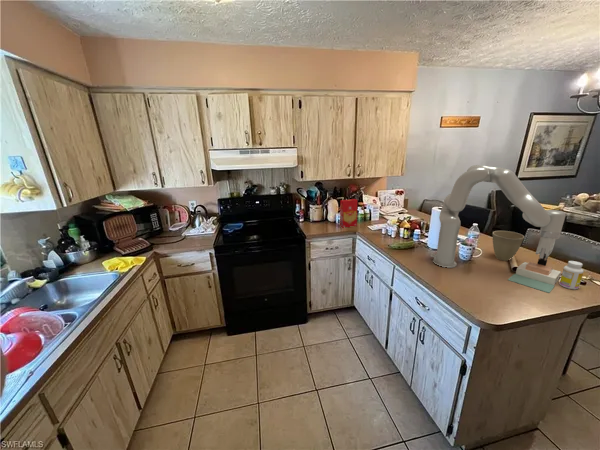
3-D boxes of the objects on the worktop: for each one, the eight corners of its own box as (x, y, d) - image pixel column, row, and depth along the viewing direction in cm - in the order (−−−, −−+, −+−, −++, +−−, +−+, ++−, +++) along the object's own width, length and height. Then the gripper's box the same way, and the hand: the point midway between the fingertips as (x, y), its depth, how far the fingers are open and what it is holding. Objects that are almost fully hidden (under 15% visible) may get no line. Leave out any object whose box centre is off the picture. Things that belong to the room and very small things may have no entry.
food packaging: (342, 228, 227) (343, 201, 219) (340, 226, 232) (340, 200, 224) (356, 226, 231) (357, 199, 224) (353, 224, 236) (354, 198, 229)
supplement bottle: (575, 284, 124) (582, 261, 120) (580, 291, 119) (588, 267, 115) (556, 281, 127) (563, 258, 124) (561, 287, 122) (568, 264, 118)
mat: (507, 280, 131) (507, 279, 131) (514, 274, 136) (514, 273, 136) (549, 293, 118) (549, 292, 118) (554, 286, 123) (554, 285, 123)
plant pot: (487, 252, 165) (492, 229, 160) (516, 256, 157) (522, 232, 152) (488, 260, 153) (493, 236, 149) (520, 265, 145) (526, 240, 140)
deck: (515, 274, 136) (517, 267, 135) (522, 268, 142) (524, 262, 141) (553, 285, 124) (555, 278, 123) (559, 278, 130) (561, 271, 129)
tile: (525, 269, 133) (526, 264, 132) (528, 265, 136) (530, 261, 135) (548, 275, 126) (549, 271, 125) (551, 272, 129) (552, 267, 128)
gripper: (543, 229, 135) (535, 260, 140) (535, 235, 127) (527, 267, 132) (563, 232, 129) (554, 264, 134) (556, 239, 121) (546, 273, 126)
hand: (541, 266), depth 133 cm, fingers closed
